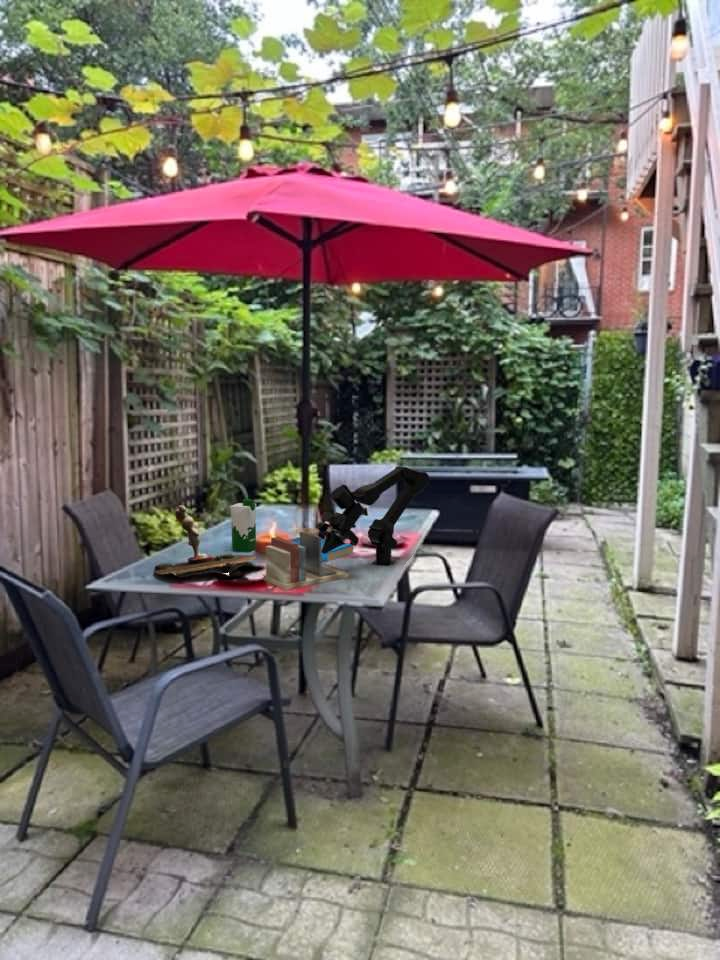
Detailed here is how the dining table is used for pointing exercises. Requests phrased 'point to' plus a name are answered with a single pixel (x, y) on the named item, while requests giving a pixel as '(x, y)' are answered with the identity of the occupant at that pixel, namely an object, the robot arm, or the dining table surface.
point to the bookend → (314, 555)
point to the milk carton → (243, 526)
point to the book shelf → (292, 566)
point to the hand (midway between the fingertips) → (322, 553)
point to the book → (333, 553)
